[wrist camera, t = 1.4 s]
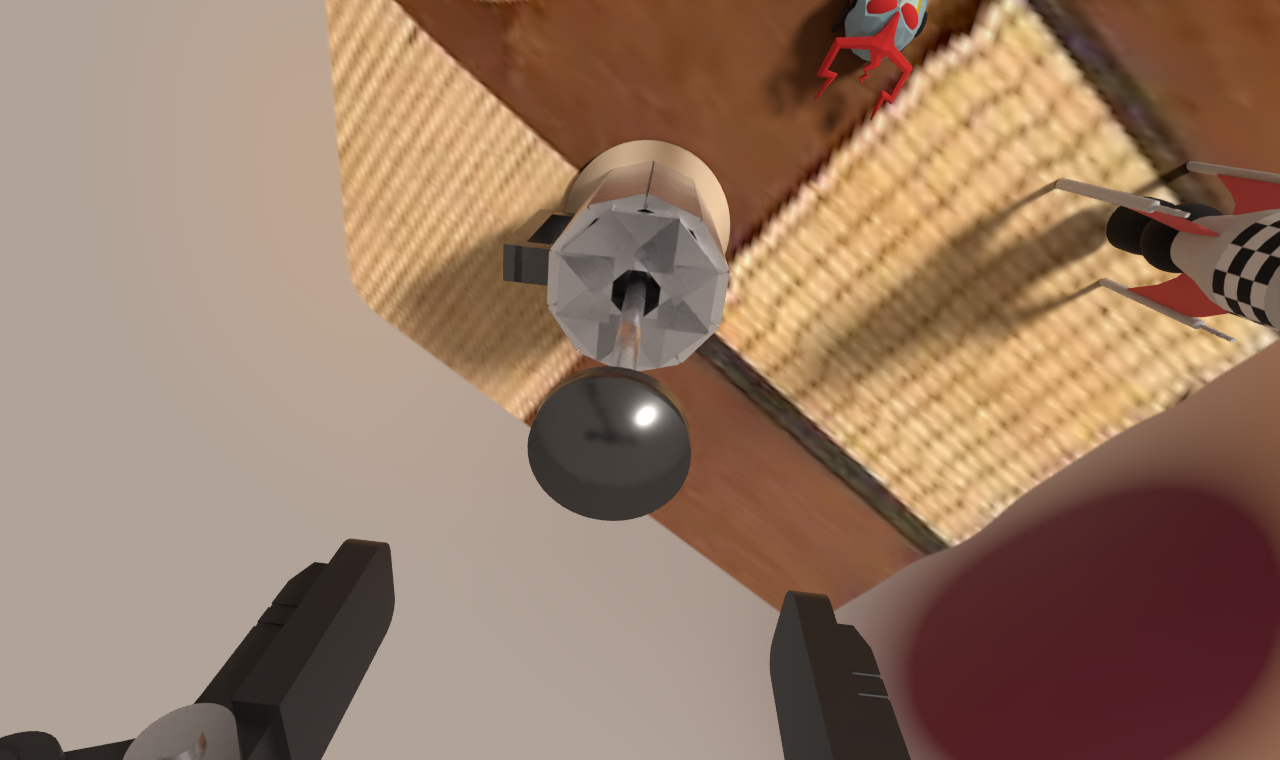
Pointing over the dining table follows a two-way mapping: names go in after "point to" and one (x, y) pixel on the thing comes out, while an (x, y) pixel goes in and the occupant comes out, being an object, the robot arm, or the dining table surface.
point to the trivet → (665, 155)
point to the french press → (628, 263)
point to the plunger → (613, 427)
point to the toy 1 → (877, 37)
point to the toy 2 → (1202, 248)
